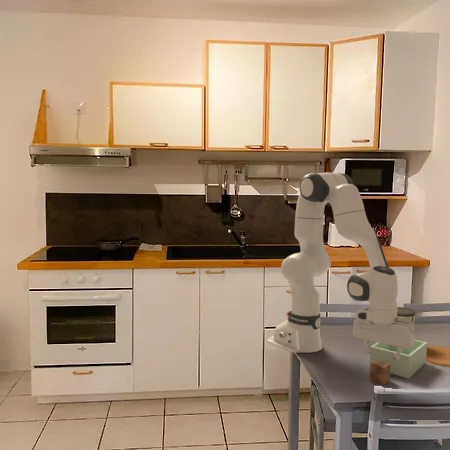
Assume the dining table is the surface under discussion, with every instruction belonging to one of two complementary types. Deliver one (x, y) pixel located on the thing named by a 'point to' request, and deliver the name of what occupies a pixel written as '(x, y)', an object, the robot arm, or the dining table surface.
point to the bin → (401, 358)
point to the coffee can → (406, 314)
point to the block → (379, 372)
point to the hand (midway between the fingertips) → (382, 355)
